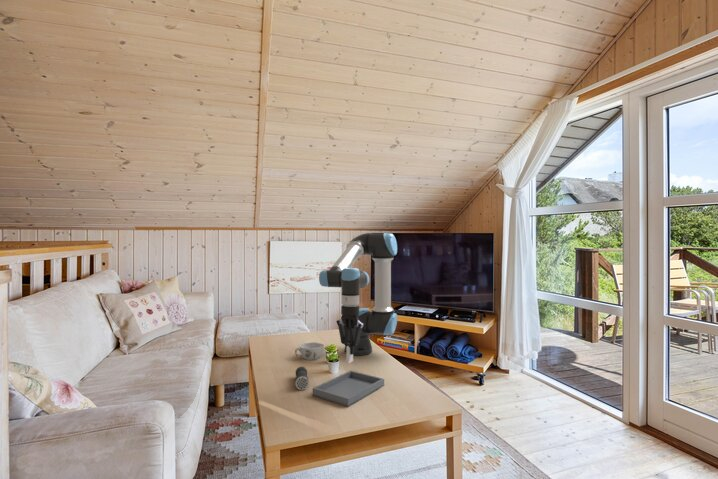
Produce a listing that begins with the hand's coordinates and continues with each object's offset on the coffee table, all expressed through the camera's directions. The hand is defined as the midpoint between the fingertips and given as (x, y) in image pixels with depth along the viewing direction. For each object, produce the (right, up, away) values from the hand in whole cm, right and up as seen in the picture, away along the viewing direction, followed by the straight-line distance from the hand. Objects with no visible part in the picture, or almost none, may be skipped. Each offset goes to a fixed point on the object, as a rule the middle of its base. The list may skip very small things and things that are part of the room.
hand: (349, 361), depth 158 cm
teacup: (-22, -13, +40) cm, 47 cm away
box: (0, -12, 0) cm, 12 cm away
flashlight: (-20, -5, +14) cm, 25 cm away
